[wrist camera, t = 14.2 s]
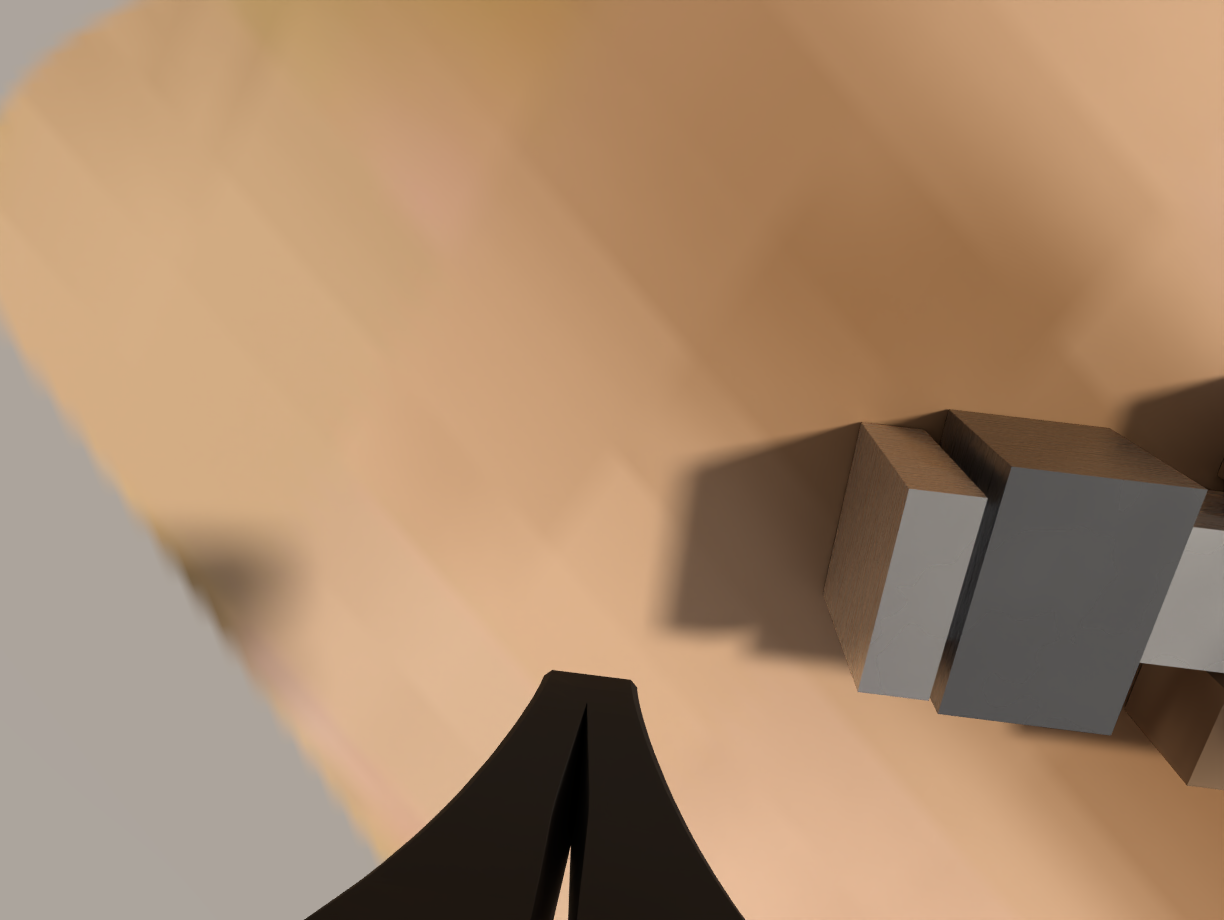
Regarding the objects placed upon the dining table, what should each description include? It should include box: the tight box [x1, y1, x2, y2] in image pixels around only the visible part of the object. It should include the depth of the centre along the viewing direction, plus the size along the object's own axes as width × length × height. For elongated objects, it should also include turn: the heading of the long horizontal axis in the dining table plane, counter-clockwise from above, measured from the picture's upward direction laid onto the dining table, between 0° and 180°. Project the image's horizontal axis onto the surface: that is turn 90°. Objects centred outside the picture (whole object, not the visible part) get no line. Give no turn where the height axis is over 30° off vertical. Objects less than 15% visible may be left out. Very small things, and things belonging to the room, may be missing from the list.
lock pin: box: [823, 422, 1224, 701], centre depth 20 cm, size 5×12×4 cm, turn 84°
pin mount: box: [930, 409, 1208, 735], centre depth 20 cm, size 6×4×4 cm, turn 174°
